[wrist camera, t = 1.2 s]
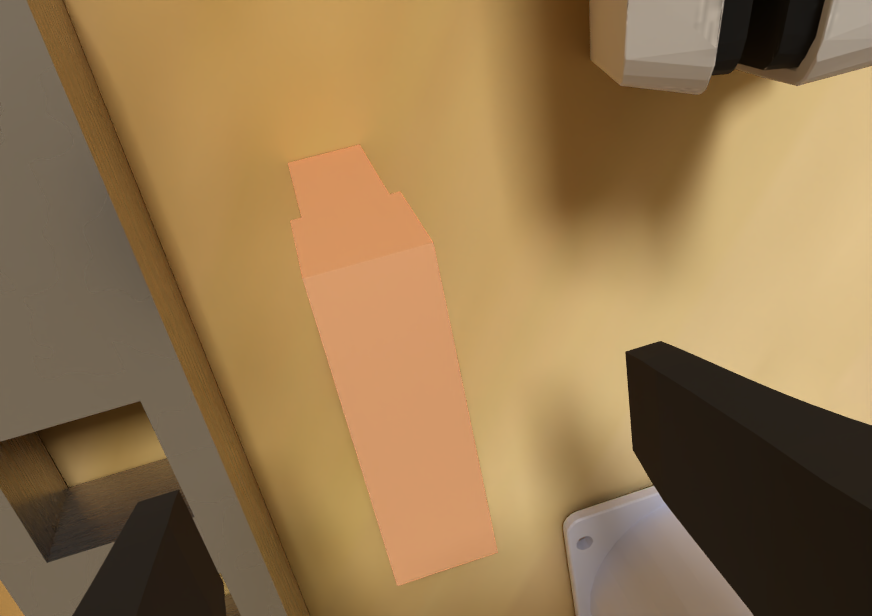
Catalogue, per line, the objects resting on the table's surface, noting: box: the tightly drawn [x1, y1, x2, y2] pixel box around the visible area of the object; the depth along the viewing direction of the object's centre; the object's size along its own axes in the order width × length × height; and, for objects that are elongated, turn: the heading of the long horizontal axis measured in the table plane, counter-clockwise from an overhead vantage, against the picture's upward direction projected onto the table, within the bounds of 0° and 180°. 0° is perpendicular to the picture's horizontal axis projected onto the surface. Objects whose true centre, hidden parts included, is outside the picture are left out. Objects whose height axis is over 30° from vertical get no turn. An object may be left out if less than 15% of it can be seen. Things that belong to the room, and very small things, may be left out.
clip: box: [288, 144, 498, 586], centre depth 15 cm, size 7×2×6 cm, turn 11°
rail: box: [0, 0, 310, 616], centre depth 18 cm, size 24×5×2 cm, turn 11°
